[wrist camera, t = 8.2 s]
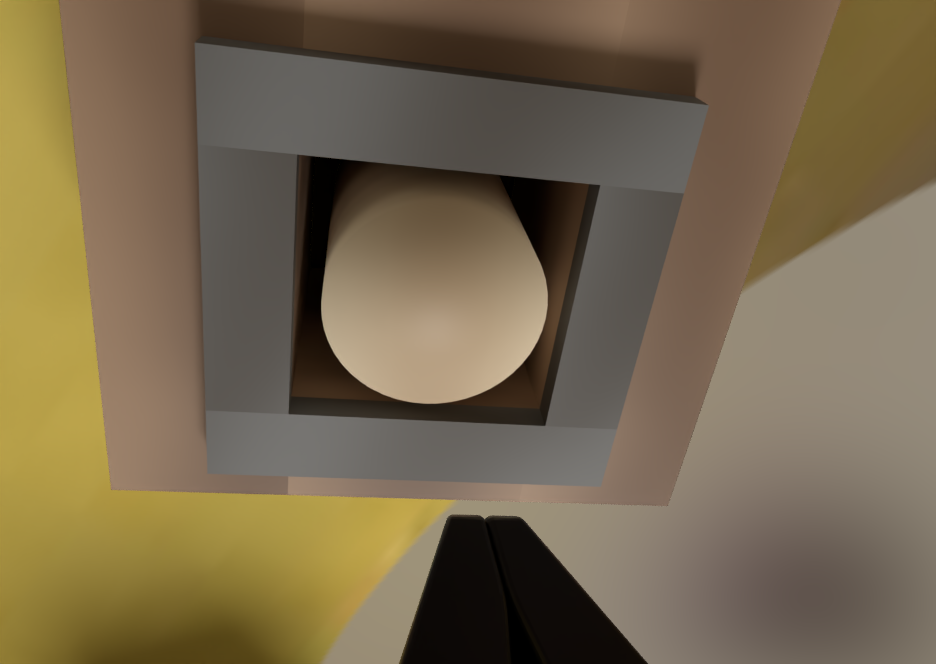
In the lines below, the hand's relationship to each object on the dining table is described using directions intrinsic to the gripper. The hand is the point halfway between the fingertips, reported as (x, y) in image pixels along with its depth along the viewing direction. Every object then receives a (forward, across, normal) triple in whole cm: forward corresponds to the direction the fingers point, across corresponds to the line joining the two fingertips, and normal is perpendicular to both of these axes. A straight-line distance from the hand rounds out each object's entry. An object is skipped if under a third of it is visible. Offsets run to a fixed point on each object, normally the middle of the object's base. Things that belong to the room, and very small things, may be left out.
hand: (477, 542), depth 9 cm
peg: (+12, 0, 0) cm, 12 cm away
